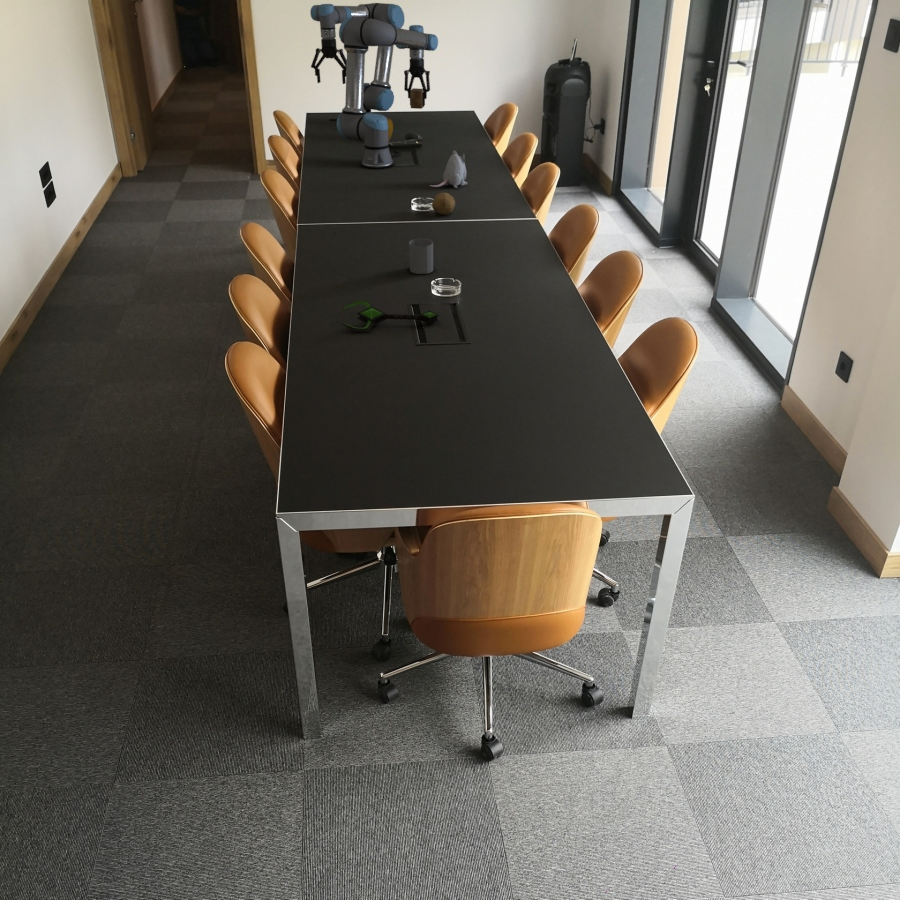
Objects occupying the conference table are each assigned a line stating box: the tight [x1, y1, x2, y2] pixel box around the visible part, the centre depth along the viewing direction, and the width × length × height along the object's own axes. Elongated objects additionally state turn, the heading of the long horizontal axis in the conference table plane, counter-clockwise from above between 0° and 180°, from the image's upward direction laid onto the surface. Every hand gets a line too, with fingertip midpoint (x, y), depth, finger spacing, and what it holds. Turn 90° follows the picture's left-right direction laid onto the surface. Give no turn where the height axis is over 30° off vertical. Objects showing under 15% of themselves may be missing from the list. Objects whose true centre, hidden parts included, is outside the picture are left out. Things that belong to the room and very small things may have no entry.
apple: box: [386, 117, 394, 142], centre depth 463 cm, size 11×11×13 cm
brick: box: [409, 87, 425, 110], centre depth 461 cm, size 6×7×9 cm
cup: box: [408, 237, 434, 275], centre depth 305 cm, size 8×8×10 cm
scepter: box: [341, 300, 440, 333], centre depth 268 cm, size 6×13×30 cm
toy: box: [428, 149, 468, 189], centre depth 390 cm, size 9×24×15 cm, turn 137°
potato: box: [431, 192, 456, 216], centre depth 360 cm, size 10×14×8 cm
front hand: (417, 105), depth 463 cm, fingers closed on brick, 6 cm apart
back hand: (331, 83), depth 451 cm, fingers open, 13 cm apart
